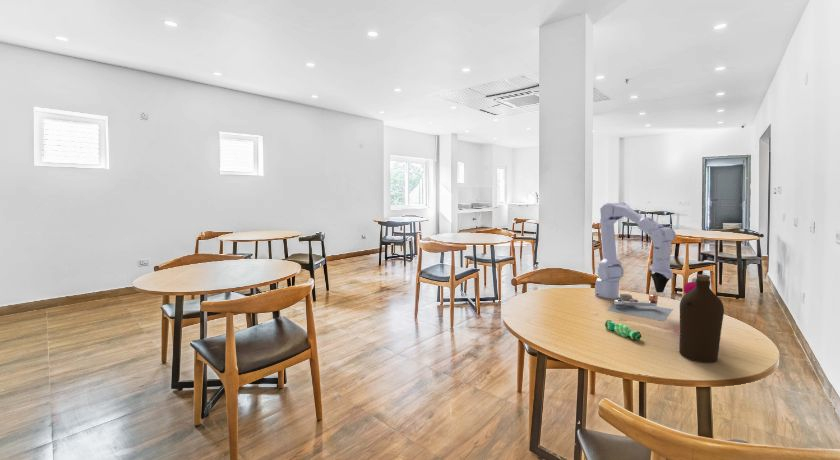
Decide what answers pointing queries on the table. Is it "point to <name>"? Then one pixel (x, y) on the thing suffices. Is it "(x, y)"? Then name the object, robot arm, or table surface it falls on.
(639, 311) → the nutcracker base
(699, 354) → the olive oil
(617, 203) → the robot arm
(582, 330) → the table surface
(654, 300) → the lever
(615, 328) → the candy
